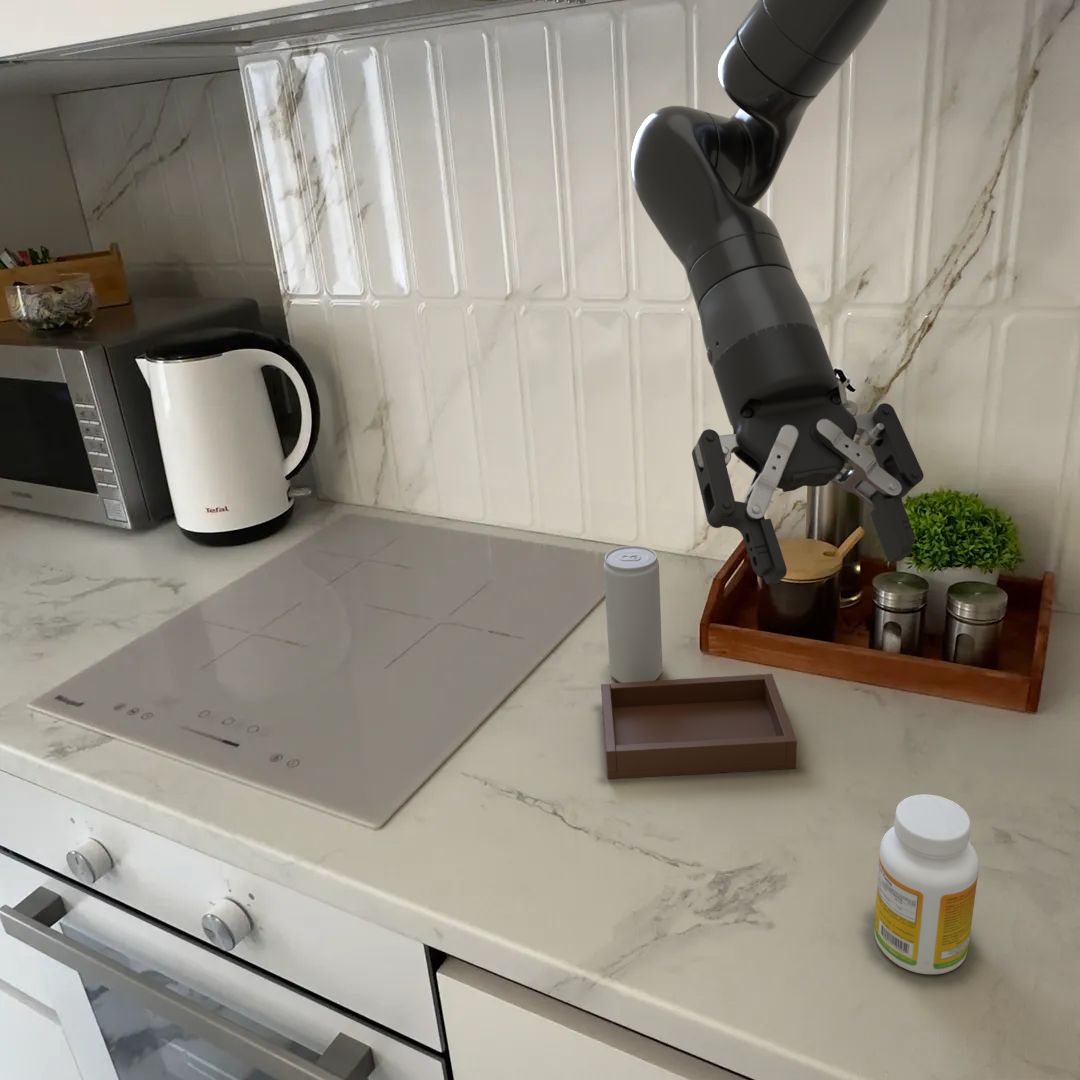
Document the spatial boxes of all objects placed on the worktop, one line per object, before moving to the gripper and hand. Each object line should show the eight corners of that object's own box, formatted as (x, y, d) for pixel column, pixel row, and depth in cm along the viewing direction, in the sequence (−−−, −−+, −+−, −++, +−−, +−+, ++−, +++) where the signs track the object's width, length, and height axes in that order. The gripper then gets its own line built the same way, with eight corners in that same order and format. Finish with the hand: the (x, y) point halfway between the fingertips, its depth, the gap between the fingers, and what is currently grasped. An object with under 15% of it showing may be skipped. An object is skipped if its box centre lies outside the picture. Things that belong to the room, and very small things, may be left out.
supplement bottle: (962, 915, 61) (978, 790, 57) (972, 984, 57) (990, 854, 53) (871, 902, 63) (881, 780, 59) (874, 969, 58) (884, 842, 54)
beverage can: (661, 689, 87) (657, 568, 82) (607, 688, 88) (600, 569, 83) (663, 660, 91) (659, 544, 86) (612, 660, 92) (605, 545, 87)
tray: (771, 699, 84) (772, 673, 83) (796, 768, 75) (797, 741, 74) (602, 709, 85) (600, 683, 84) (607, 779, 76) (605, 751, 75)
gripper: (680, 333, 63) (753, 567, 57) (882, 306, 65) (971, 528, 59) (655, 392, 69) (718, 606, 64) (839, 366, 72) (914, 570, 66)
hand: (840, 568), depth 62 cm, fingers open, 8 cm apart
